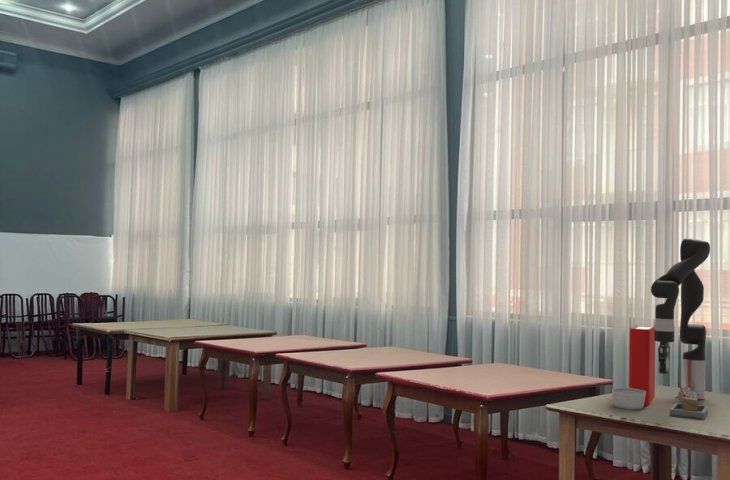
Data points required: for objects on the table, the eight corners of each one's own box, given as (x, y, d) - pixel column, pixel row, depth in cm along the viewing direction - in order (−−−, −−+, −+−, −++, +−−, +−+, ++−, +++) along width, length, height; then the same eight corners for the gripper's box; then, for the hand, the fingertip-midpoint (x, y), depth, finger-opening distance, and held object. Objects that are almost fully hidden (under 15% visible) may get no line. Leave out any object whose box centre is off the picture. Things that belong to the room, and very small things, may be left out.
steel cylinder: (659, 372, 293) (659, 357, 293) (669, 373, 291) (669, 358, 291) (657, 373, 289) (657, 358, 290) (668, 374, 287) (668, 359, 288)
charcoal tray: (675, 408, 294) (676, 402, 294) (708, 412, 288) (708, 406, 288) (669, 415, 278) (669, 409, 278) (703, 419, 272) (703, 413, 272)
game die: (691, 415, 301) (703, 398, 295) (671, 406, 303) (682, 390, 297) (691, 401, 308) (702, 385, 303) (672, 393, 310) (682, 377, 304)
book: (635, 395, 326) (636, 324, 327) (654, 397, 322) (655, 326, 323) (628, 404, 301) (629, 328, 303) (648, 406, 298) (649, 329, 299)
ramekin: (633, 411, 285) (633, 394, 286) (605, 405, 296) (605, 389, 296) (652, 408, 293) (652, 391, 293) (624, 403, 304) (624, 386, 304)
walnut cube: (684, 409, 289) (684, 397, 289) (697, 411, 287) (697, 398, 287) (682, 411, 285) (683, 398, 285) (696, 412, 282) (696, 400, 283)
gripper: (671, 331, 283) (670, 374, 282) (676, 329, 295) (676, 371, 294) (651, 330, 287) (650, 373, 286) (657, 328, 299) (657, 369, 298)
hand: (663, 371), depth 290 cm, fingers closed on steel cylinder, 4 cm apart
